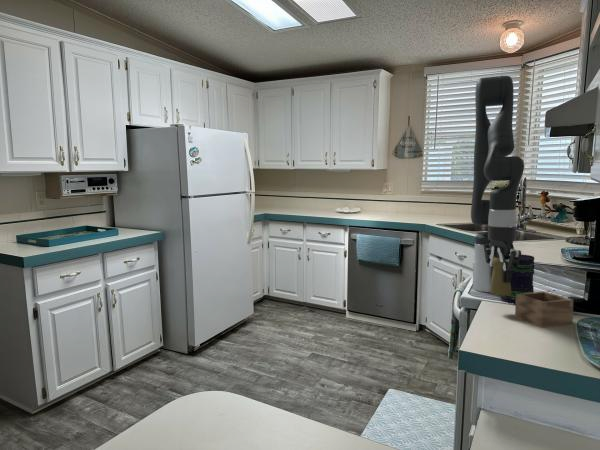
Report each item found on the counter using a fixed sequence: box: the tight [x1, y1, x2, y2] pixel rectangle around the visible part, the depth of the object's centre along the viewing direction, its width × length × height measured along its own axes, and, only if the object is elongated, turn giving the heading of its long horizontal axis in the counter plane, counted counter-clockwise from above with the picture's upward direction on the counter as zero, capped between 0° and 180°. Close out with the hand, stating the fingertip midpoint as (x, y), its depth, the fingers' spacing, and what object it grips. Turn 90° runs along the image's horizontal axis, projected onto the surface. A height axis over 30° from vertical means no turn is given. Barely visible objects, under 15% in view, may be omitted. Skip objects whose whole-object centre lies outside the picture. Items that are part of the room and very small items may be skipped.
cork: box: [488, 257, 511, 296], centre depth 125 cm, size 6×6×11 cm
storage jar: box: [500, 253, 535, 305], centre depth 138 cm, size 10×10×15 cm
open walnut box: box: [514, 290, 574, 329], centre depth 119 cm, size 10×10×7 cm
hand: (500, 280), depth 126 cm, fingers closed on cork, 4 cm apart
